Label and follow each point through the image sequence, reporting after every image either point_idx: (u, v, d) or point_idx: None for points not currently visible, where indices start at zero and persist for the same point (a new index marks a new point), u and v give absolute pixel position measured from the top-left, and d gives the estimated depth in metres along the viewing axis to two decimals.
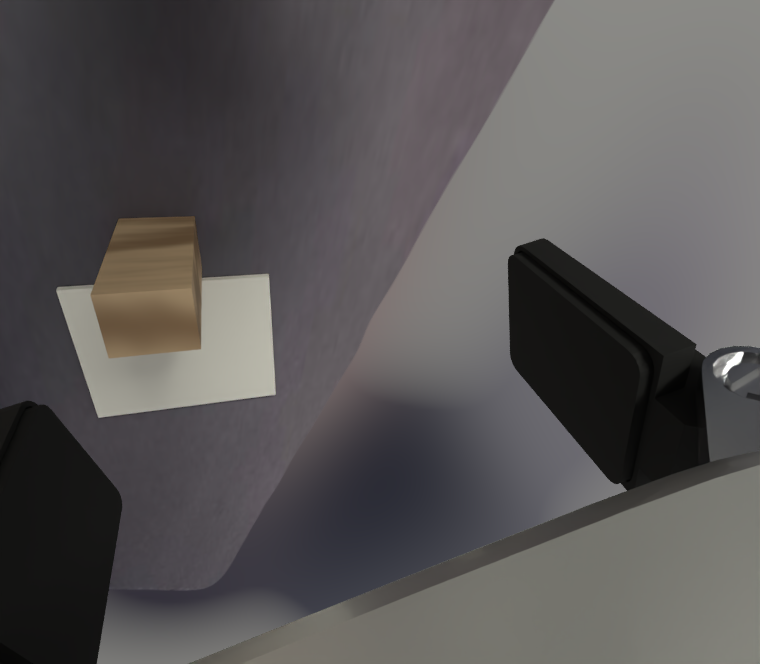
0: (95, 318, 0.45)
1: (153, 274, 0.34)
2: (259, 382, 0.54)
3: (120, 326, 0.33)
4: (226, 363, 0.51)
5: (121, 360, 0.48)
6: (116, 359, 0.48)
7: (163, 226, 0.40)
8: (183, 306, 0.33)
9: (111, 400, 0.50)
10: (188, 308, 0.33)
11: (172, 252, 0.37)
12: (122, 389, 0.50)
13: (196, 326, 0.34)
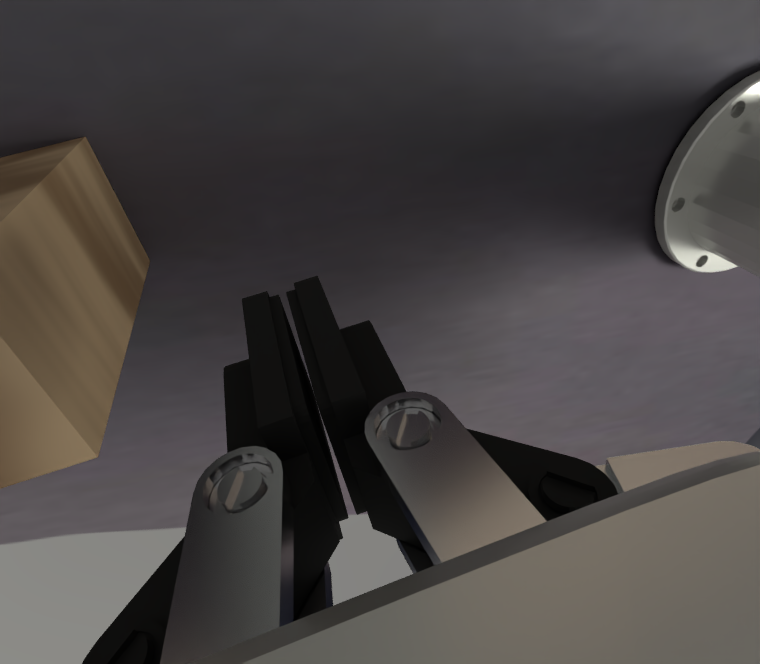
0: None
1: (69, 341, 0.14)
2: None
3: None
4: None
5: None
6: None
7: (119, 233, 0.21)
8: (34, 457, 0.13)
9: None
10: (33, 466, 0.13)
11: (108, 312, 0.17)
12: None
13: None
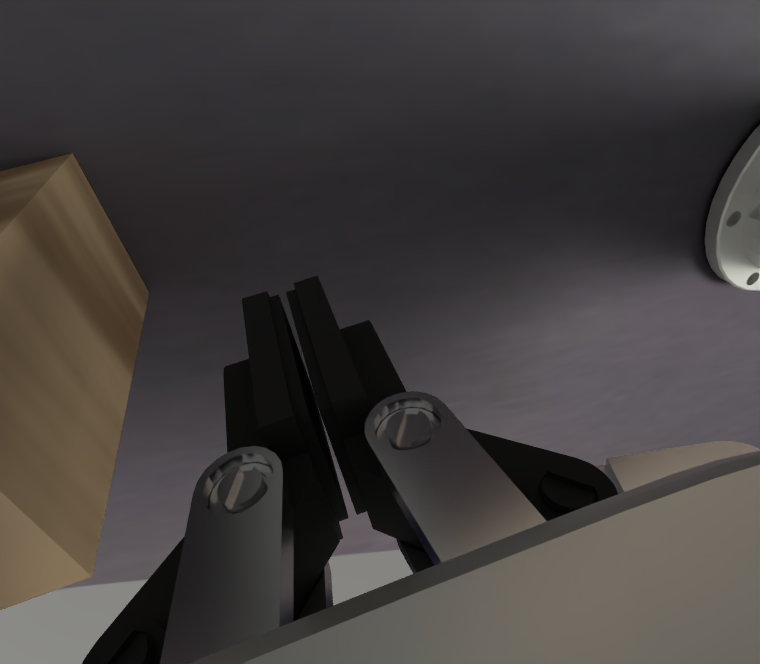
0: None
1: (53, 425, 0.11)
2: None
3: None
4: None
5: None
6: None
7: (114, 266, 0.18)
8: (8, 584, 0.10)
9: None
10: (7, 594, 0.10)
11: (102, 371, 0.14)
12: None
13: None
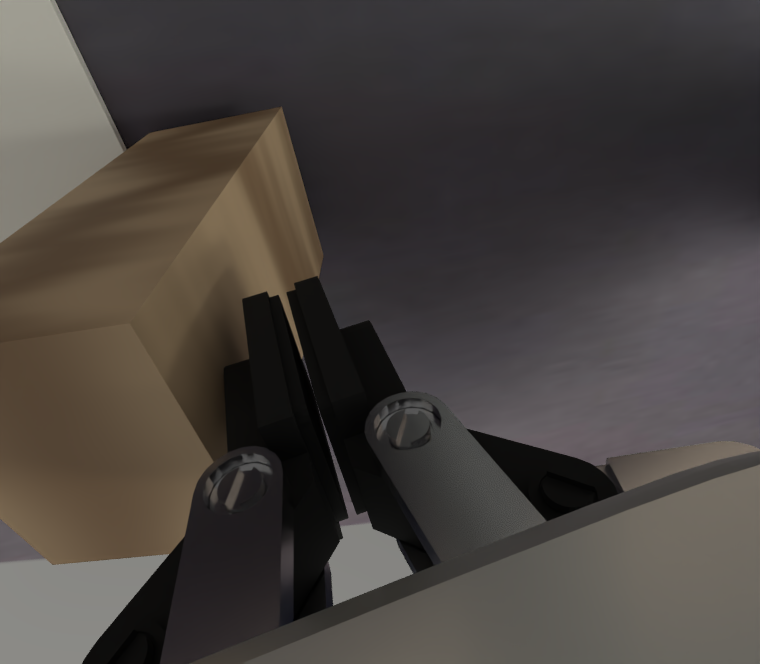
0: None
1: None
2: None
3: (24, 405, 0.08)
4: None
5: None
6: None
7: (301, 225, 0.18)
8: None
9: None
10: None
11: None
12: None
13: (131, 555, 0.11)
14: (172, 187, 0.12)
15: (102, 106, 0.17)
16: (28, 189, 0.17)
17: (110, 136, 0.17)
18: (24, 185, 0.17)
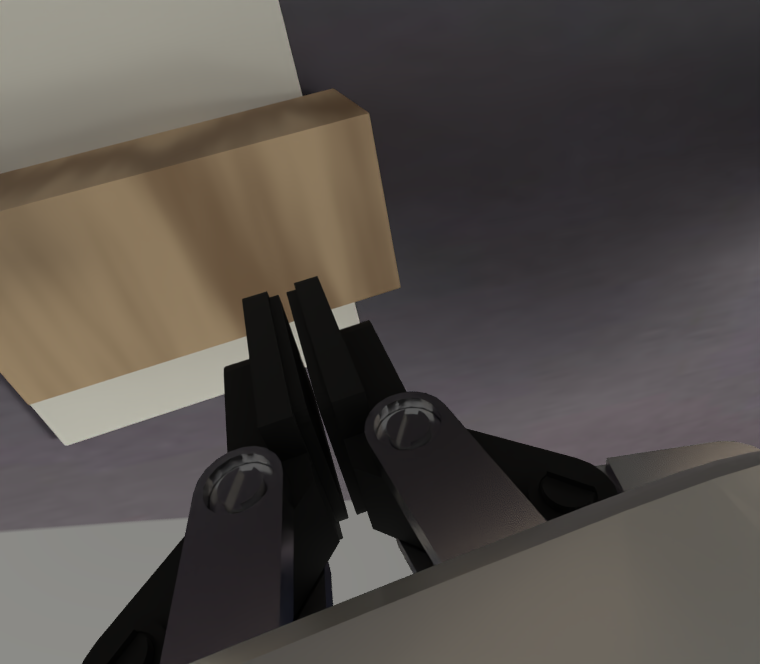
0: None
1: (58, 322, 0.15)
2: (90, 408, 0.23)
3: None
4: None
5: (35, 76, 0.16)
6: (32, 59, 0.15)
7: (329, 245, 0.16)
8: None
9: None
10: None
11: (182, 317, 0.16)
12: None
13: None
14: (130, 163, 0.15)
15: (292, 58, 0.17)
16: None
17: (295, 88, 0.18)
18: None
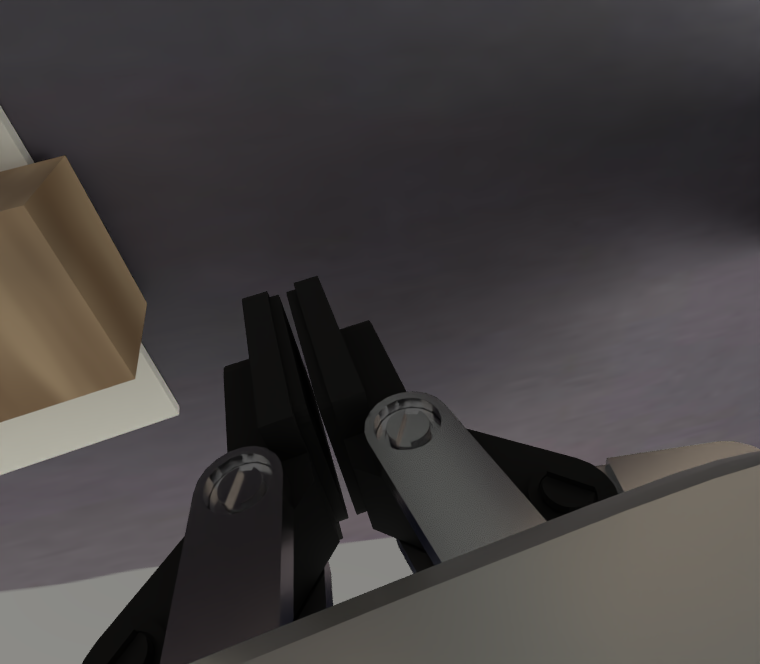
0: None
1: None
2: None
3: None
4: None
5: None
6: None
7: (23, 342, 0.14)
8: None
9: None
10: None
11: None
12: None
13: None
14: None
15: (5, 125, 0.15)
16: None
17: (16, 157, 0.16)
18: None
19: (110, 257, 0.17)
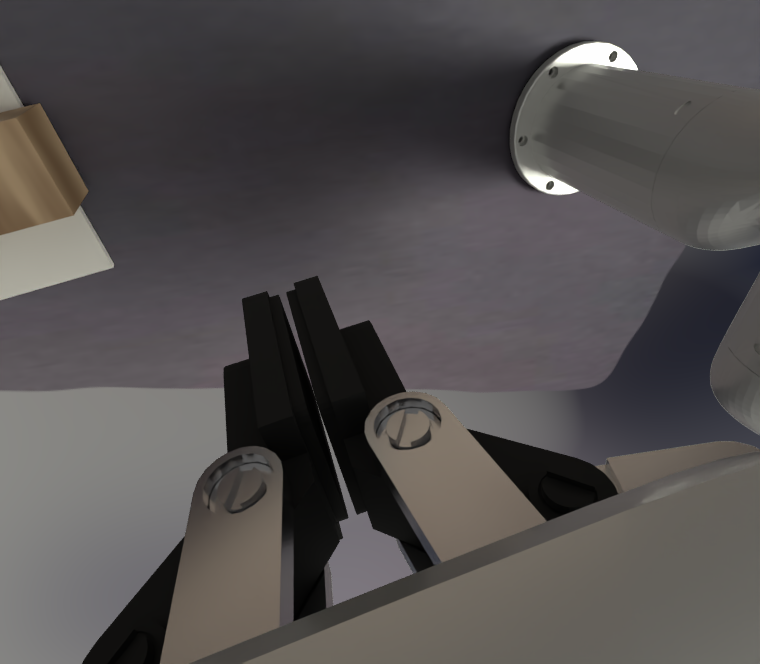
0: None
1: None
2: None
3: None
4: None
5: None
6: None
7: (17, 188, 0.30)
8: None
9: None
10: None
11: None
12: None
13: None
14: None
15: (9, 86, 0.31)
16: None
17: (15, 103, 0.32)
18: None
19: (64, 158, 0.33)
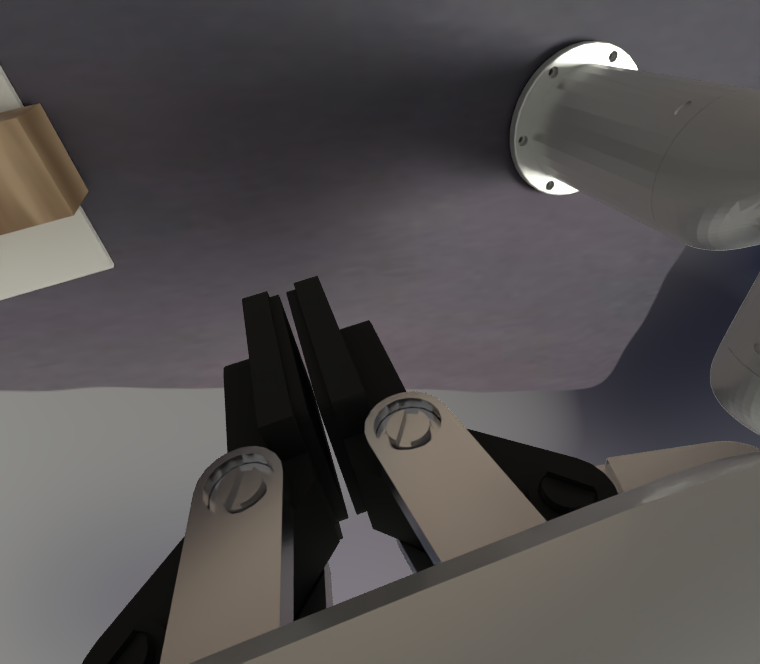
0: None
1: None
2: None
3: None
4: None
5: None
6: None
7: (17, 188, 0.30)
8: None
9: None
10: None
11: None
12: None
13: None
14: None
15: (9, 86, 0.31)
16: None
17: (15, 103, 0.32)
18: None
19: (64, 158, 0.33)
